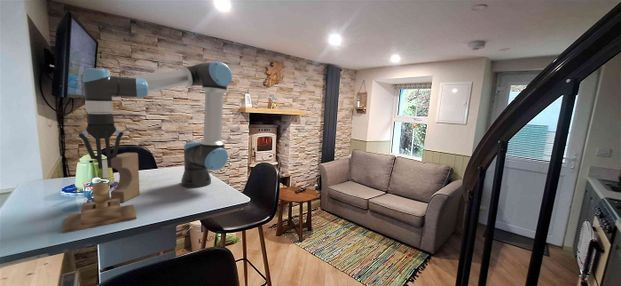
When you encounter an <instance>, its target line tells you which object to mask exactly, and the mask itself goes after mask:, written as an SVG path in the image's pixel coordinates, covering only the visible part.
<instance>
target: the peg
mask: <svg viewBox="0 0 621 286" xmlns="http://www.w3.org/2000/svg"><path fill="white" fill-rule="evenodd" d="M92 195H93V197H92V198H93V202H95V203H96V208H103V207H108V203H107V200H110V196H109V183H108V182H98V183H94V184H92Z"/></svg>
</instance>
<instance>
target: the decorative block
mask: <svg viewBox="0 0 621 286" xmlns="http://www.w3.org/2000/svg"><path fill="white" fill-rule="evenodd" d="M111 165H112V167H111V168H110V169H114V170H117V172H118V174H119V175H118V176H119V181H118V183H117V185H116V186H115V188H114V189H113V190H110V198H111V199H118V198H120V203H121V204H123V203H125V202H127V201H129V200H130V199H133V198H135V197H137V196H139V195H140V175H139V173H140V172H139V153H137V152H123V153H119V154H117V157H114V158H112V159H111ZM111 199H110V200H111Z"/></svg>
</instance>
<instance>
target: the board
mask: <svg viewBox="0 0 621 286" xmlns="http://www.w3.org/2000/svg"><path fill="white" fill-rule="evenodd" d="M107 203H108V207H103V208H96V203H95V202H94V201H90V202H84V203H82V206H81V210H80V212H78V213H71V214H67V216H66V218H65V219H66V220H65V222H64V224H63V228H62V233H63V234H64V233H68V232H75V231H79V230H86V229H91V228H96V227H100V226H107V225H110V224H111V225H113V224H117V223H122V222H126V221H127V222H128V221H132V220H137V214H136V210H135V206H134V204H129V205H123V206H122V205H121V202H120V198H118V199H109V200H107Z"/></svg>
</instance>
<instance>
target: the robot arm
mask: <svg viewBox="0 0 621 286" xmlns="http://www.w3.org/2000/svg"><path fill="white" fill-rule="evenodd" d="M232 80H233V73H232V70H231V69H230V68H229V66H228V65H227V64H226V63H224V62H222V61H212V62H202V63H197V64H193V65H190V66H185V67H181V69H177V70H169V71H160V72H154V73H153V72H152V73H145V74H137V75H130V76H129V75H128V76H115V75H111V73H110V71H109V69H103V68H95V67H94V68H93V67H91V68H90V67H86V68H83V70H82V84H83V92H84V100H85V101H84V102H85V103H84V104H85V111H86V122H87V123H86V124H87V126H86V128H85V130H84V131H82V132H79V133H78V137H79V138H80V139H82V141H83V144H84V146H85V148H86V150H87V153H88V155H89V157H90V159H91V160H95V161H97V168H98V169H99V170H100V169H101V170H102V177H103V179H104V178H105V179H106V178H109V169H112V168H111V167H112V165H111V159H112V158H114V157H117V155H118V152H119V149H120V143H121V139H122V137H123V136H124V132H123V130H122V131H121V130H119V129H118V128H117V127H116V126H115V117H114V115H115V114H113V112H114V108H113V107H114V106H113V98H136V99H138V98H139V99H140V98H141V99H142V98H146V97H148V95H149V92H154V91H160V90H166V89H172V88H177V87H178V88H179V87H183V86H185V87H202V90H203V91H204V92H205V94H204V96H205V97H204V113H203V114H204V119H203V123H204V124H203V139H202V141H198V142H197V141H195V142H186V143H184V145H183V159H184V161H183V163H184V169H183V170H184V172H183V174H182V178H181V180H180V182H181V183H180V185H181V186H182V187H185V188H201V187H206V186H208V185H210V184H212V177H211V175H210V171H219V170H221V169H222V168H224V167H225V166H226V164H227V163H228V161H229V160H228V159H229V153H228V151H227V150H226V149H225V143H224V141H222V131H223V113H224V94H225V93H226V92H228V86H230V84H231V83H232ZM114 133H115V136H116V138H115V143H114V148H113V151H112V154H111V146H110V138H111V137H112V136H113V135H114ZM89 135H90V136H91V137H93V139H95V147H96V154H95V152H94V150H93V147H92V145H91V143H90V140H89V138H88V137H89ZM102 139H104V144H105V154H106V158H103V157H102V142H101V140H102Z"/></svg>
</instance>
